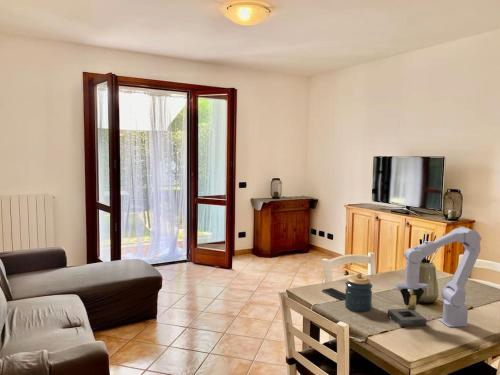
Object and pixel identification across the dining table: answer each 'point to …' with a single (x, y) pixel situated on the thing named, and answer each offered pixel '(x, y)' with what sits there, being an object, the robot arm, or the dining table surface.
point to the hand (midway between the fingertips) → (410, 304)
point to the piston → (412, 301)
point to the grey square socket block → (406, 317)
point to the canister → (358, 293)
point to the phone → (334, 293)
